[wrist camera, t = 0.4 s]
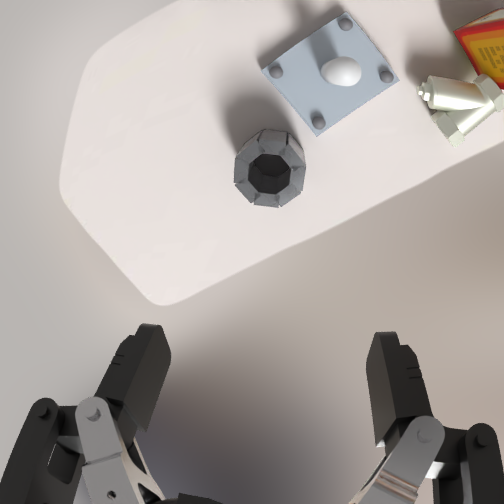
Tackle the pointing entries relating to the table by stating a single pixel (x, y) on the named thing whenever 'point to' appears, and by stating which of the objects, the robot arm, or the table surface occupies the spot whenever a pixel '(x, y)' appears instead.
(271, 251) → the table surface
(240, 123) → the table surface
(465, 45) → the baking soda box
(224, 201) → the table surface
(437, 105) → the pipe fitting
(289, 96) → the mounting base with peg
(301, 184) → the hub
